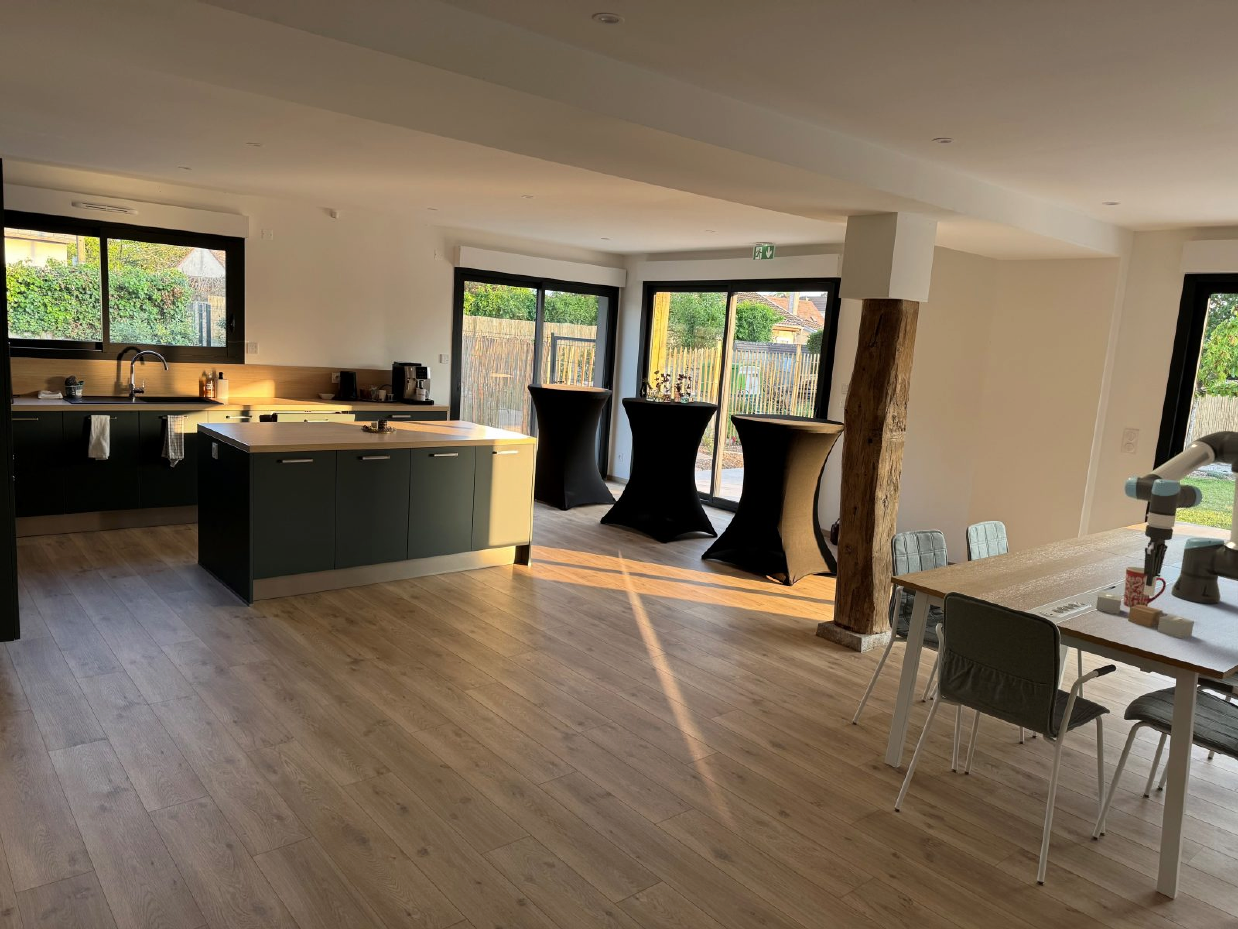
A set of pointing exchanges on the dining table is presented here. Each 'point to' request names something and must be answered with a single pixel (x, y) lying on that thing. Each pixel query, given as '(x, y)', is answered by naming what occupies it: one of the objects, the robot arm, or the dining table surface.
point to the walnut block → (1145, 615)
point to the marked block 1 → (1108, 603)
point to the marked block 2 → (1175, 626)
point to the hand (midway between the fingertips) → (1148, 594)
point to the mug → (1138, 587)
